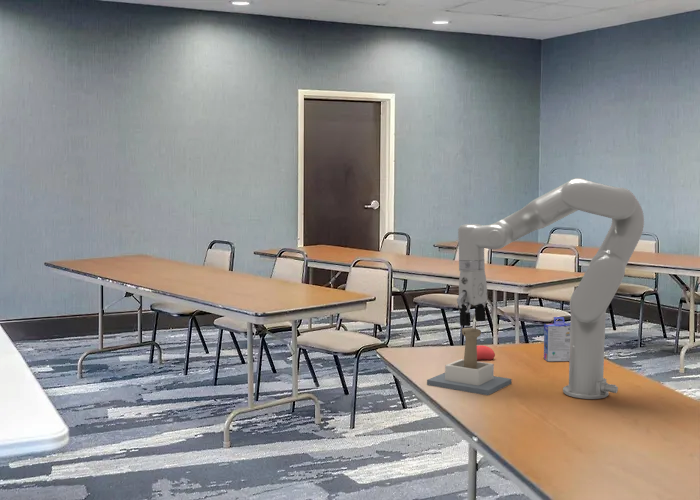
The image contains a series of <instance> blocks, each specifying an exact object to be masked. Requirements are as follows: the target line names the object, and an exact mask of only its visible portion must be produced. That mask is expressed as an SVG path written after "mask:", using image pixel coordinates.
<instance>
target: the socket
mask: <svg viewBox="0 0 700 500" xmlns="http://www.w3.org/2000/svg"><path fill="white" fill-rule="evenodd" d="M494 366H495V364H494V363H491V362H490V363H489V362H482V361H477V369H472V368H465V367H464V358H463V359H462V358H460V359H457V360H454V361H453V362H450V363H447V364H445V365H444V367H445V368H444V372H443V373H440V374H439V375H435V376H433V377H430V378H428V379H426V385H427V386H431V387H437V388H443V389H449V390H453V391H454V390H455V391H459V392H461V391H462V392H465V393H466V392H467V393H470V394H471V393H472V394H476V395H477V394H478V395H483V396H490V395H491V394H494V393H495V392H498V391H500V390H502V389H504V388H506V387H508V386H510V385H512V380H513V379H512V378H508V377H501V376H497V375H495V374H494V372H495V371H494V368H495V367H494Z"/></svg>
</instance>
